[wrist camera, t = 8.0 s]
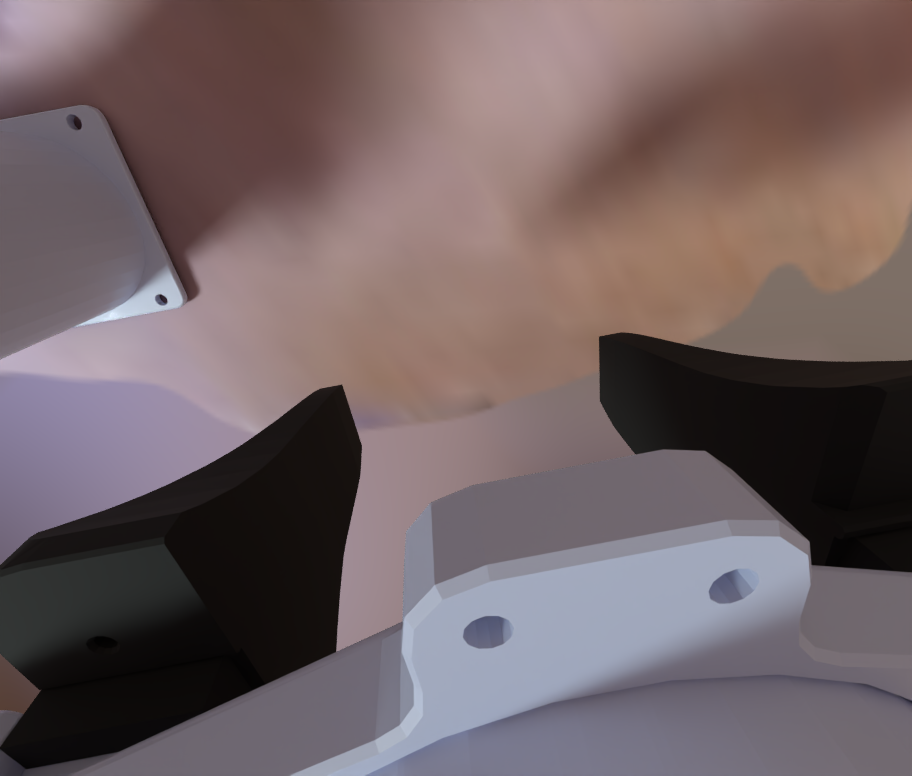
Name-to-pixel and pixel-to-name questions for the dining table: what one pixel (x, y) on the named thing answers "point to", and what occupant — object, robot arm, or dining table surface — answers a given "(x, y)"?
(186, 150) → the dining table surface
